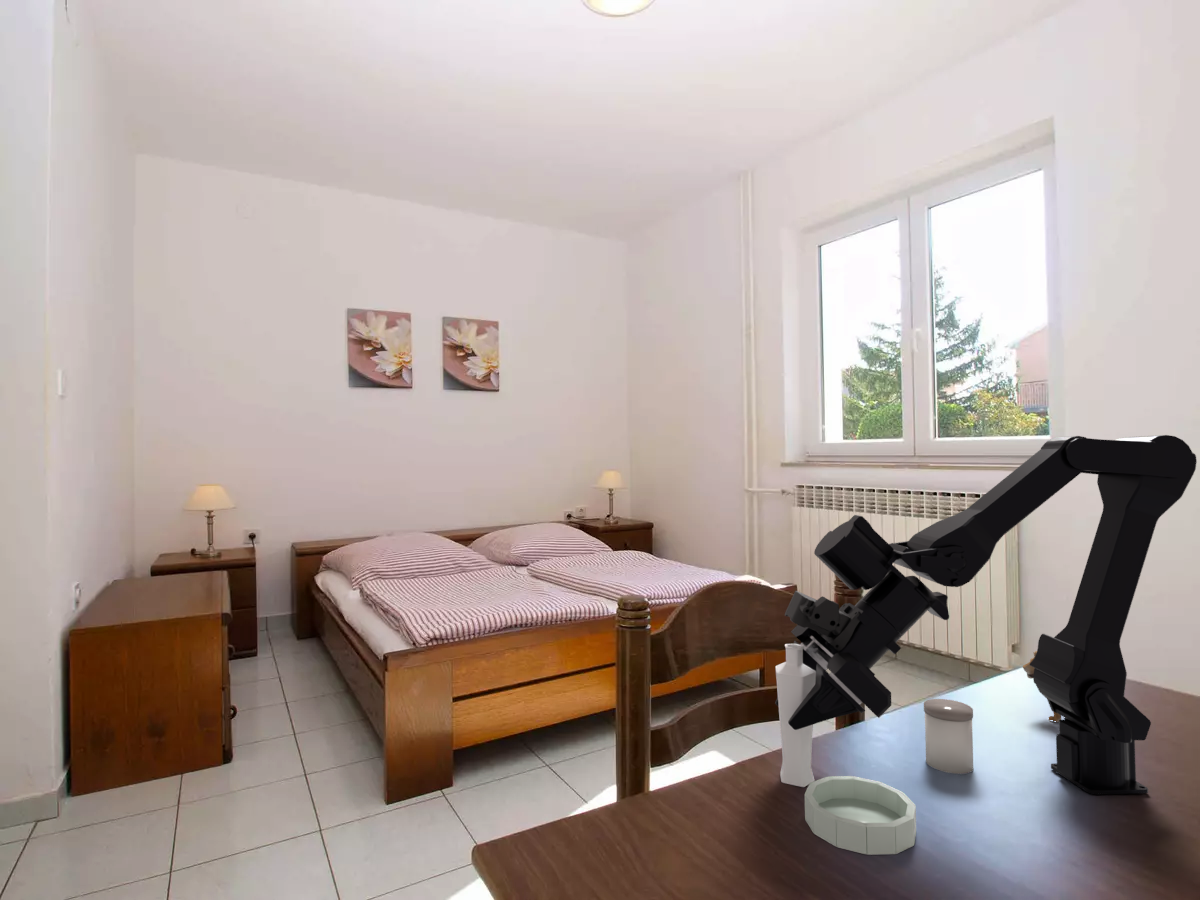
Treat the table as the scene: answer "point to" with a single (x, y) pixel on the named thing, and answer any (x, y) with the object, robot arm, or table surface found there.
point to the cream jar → (949, 736)
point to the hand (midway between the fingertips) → (784, 715)
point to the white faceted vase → (791, 692)
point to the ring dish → (860, 815)
